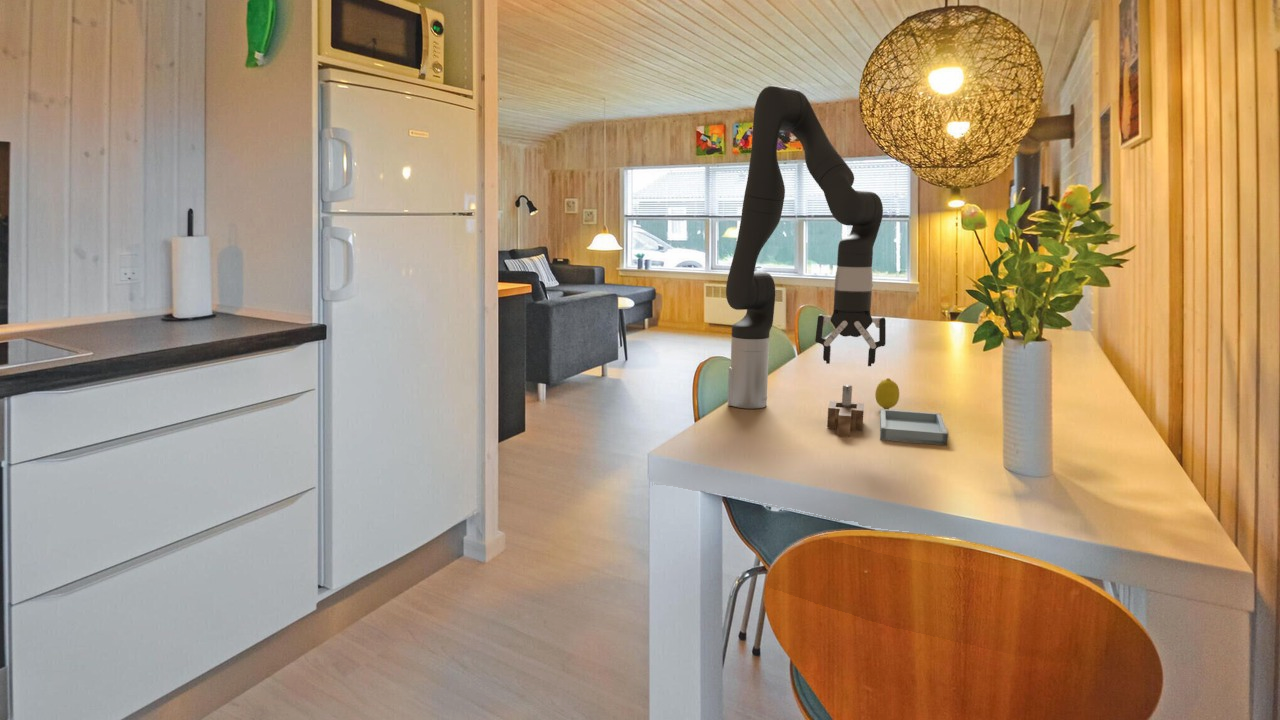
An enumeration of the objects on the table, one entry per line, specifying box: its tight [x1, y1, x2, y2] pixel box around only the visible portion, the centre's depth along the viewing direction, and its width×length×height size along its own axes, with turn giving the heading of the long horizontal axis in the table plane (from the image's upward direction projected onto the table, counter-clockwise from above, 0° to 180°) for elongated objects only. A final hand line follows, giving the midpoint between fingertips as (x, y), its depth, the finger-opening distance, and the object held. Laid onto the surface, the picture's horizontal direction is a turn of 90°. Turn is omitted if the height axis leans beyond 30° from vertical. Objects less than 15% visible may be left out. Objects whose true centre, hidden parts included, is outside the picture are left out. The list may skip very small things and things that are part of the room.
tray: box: [879, 408, 949, 446], centre depth 161 cm, size 13×18×2 cm
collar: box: [826, 400, 865, 438], centre depth 163 cm, size 8×14×4 cm, turn 163°
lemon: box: [875, 377, 900, 410], centre depth 180 cm, size 6×6×8 cm
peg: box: [841, 384, 853, 408], centre depth 166 cm, size 2×2×9 cm
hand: (848, 364), depth 157 cm, fingers open, 8 cm apart
